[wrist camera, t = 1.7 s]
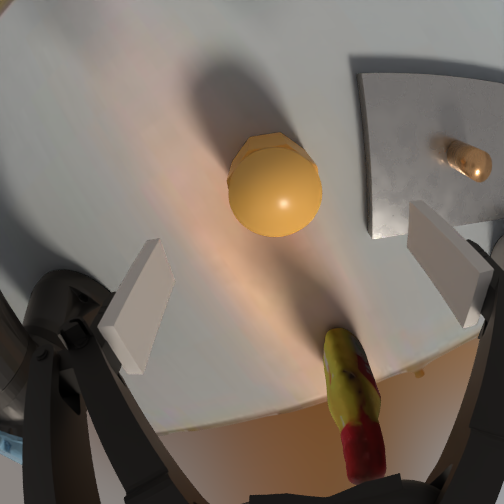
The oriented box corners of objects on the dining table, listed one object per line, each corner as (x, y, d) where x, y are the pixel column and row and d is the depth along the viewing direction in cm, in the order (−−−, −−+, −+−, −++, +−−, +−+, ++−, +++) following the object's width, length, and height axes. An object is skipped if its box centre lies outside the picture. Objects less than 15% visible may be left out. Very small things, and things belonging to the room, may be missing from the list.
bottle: (309, 324, 37) (334, 479, 20) (359, 310, 36) (408, 459, 19) (326, 377, 43) (346, 501, 25) (367, 365, 42) (399, 486, 24)
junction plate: (367, 232, 31) (386, 260, 26) (356, 73, 23) (379, 72, 18) (504, 212, 29) (530, 232, 24) (509, 85, 21) (542, 91, 16)
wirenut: (242, 207, 30) (238, 243, 23) (227, 141, 26) (219, 158, 20) (310, 197, 29) (325, 229, 23) (301, 129, 26) (316, 143, 20)
